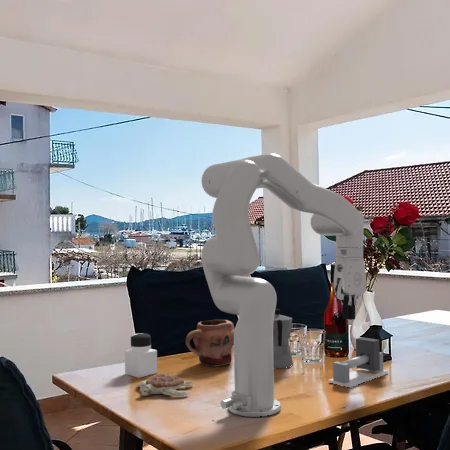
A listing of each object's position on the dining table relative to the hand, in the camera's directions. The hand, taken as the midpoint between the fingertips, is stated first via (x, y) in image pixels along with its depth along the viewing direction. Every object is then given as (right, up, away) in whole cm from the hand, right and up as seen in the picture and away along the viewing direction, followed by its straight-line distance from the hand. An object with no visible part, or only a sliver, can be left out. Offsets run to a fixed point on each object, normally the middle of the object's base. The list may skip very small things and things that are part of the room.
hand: (348, 318), depth 152 cm
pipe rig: (+4, -18, +3) cm, 18 cm away
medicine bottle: (-61, -19, +12) cm, 64 cm away
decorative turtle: (-52, -19, -6) cm, 55 cm away
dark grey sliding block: (+7, -16, +6) cm, 18 cm away
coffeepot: (-18, -18, +18) cm, 31 cm away
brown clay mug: (-39, -19, +21) cm, 48 cm away
